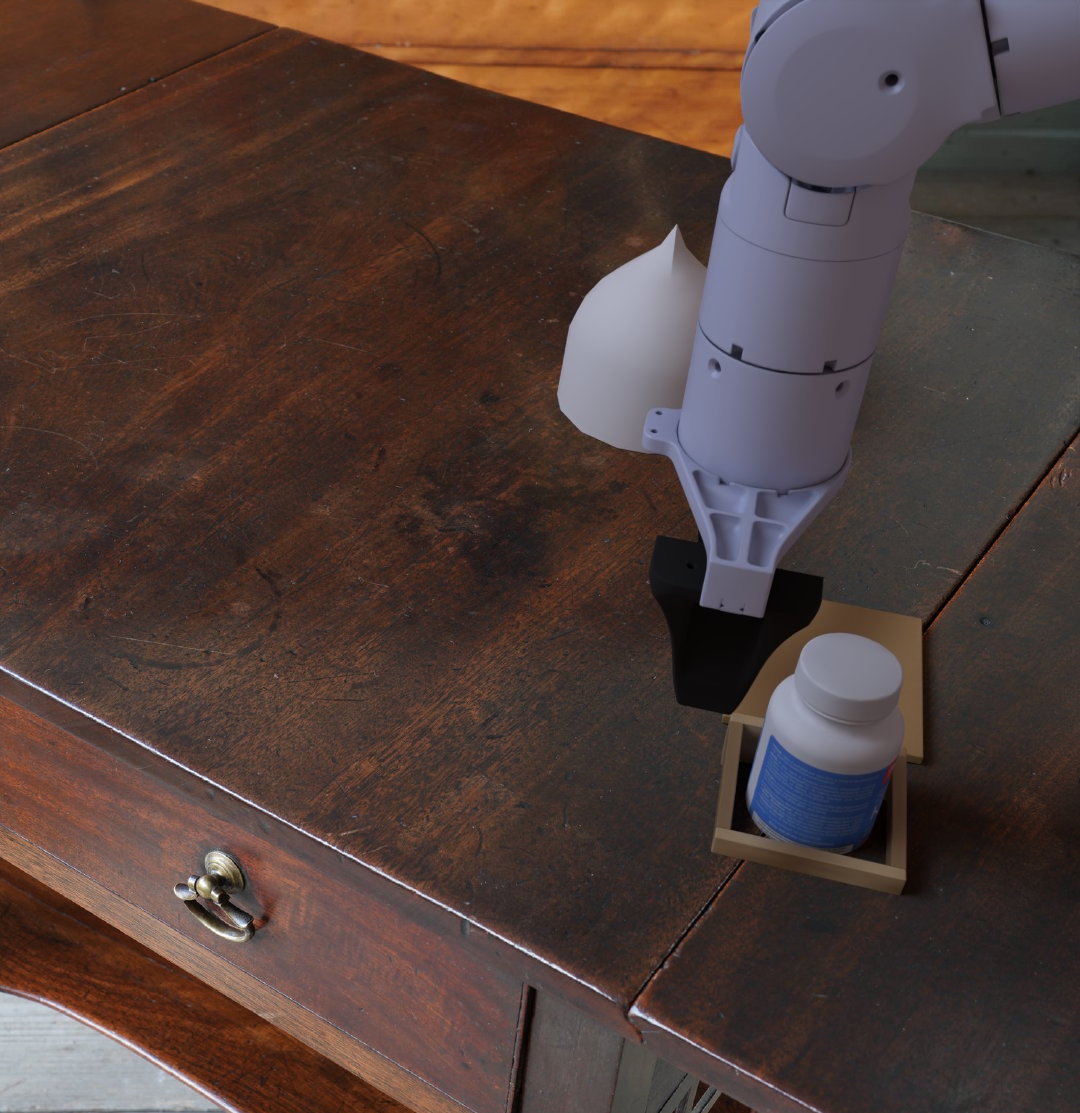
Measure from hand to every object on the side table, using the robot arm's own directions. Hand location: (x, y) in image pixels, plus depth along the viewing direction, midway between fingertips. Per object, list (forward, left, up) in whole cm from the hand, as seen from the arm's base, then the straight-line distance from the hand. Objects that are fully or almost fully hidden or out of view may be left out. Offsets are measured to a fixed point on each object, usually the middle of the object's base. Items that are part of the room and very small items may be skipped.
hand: (716, 636), depth 56 cm
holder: (-5, -2, -12) cm, 13 cm away
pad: (-6, -12, -12) cm, 18 cm away
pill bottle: (-5, -2, -12) cm, 13 cm away
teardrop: (+6, -34, -12) cm, 36 cm away
